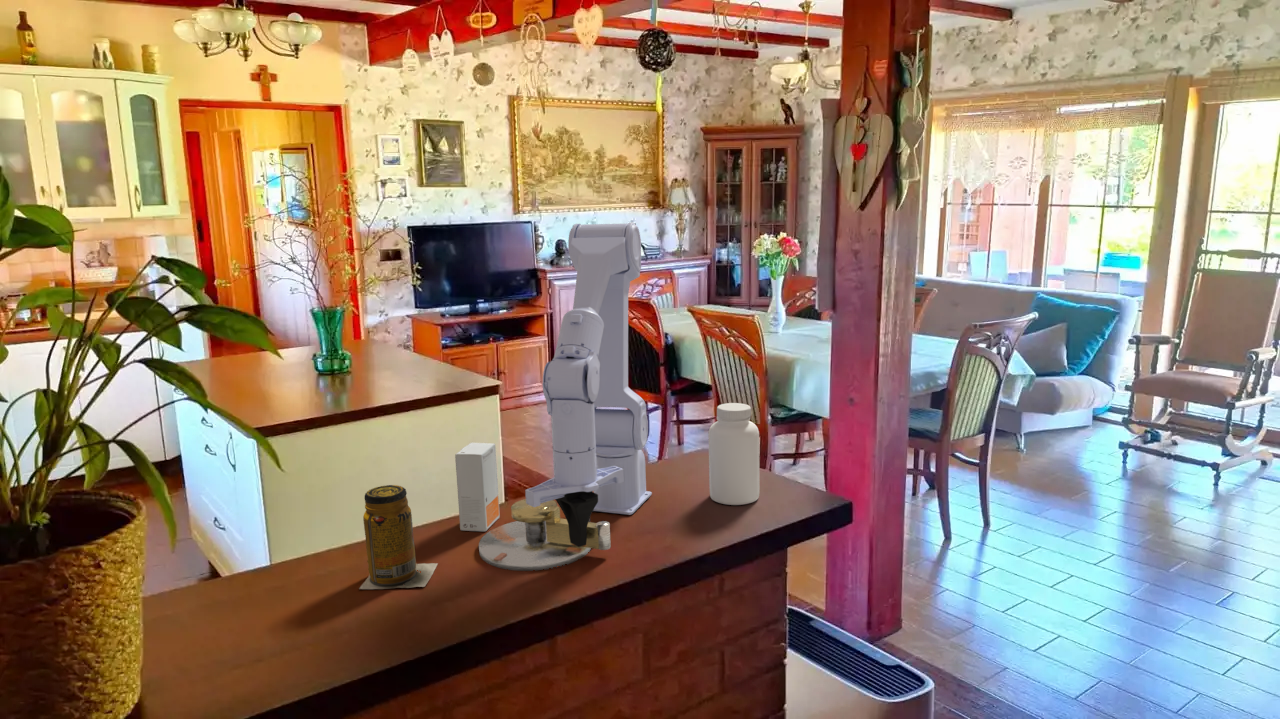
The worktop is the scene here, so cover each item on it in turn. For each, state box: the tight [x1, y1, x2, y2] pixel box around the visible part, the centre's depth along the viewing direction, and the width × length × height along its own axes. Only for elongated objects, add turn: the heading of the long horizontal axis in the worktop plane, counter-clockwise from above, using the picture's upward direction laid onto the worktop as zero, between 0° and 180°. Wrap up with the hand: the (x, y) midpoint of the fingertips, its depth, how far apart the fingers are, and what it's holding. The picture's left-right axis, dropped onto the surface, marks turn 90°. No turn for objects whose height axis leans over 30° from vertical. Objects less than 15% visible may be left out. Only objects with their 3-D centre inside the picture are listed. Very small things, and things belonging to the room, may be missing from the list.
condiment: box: [358, 484, 439, 590], centre depth 114 cm, size 7×8×12 cm
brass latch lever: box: [510, 498, 612, 551], centre depth 121 cm, size 15×6×5 cm, turn 67°
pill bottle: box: [708, 402, 760, 506], centre depth 138 cm, size 8×8×15 cm
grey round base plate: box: [478, 518, 592, 572], centre depth 123 cm, size 16×16×4 cm
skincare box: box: [454, 442, 501, 533], centre depth 131 cm, size 6×4×12 cm
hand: (578, 543), depth 118 cm, fingers closed, pressing on brass latch lever
